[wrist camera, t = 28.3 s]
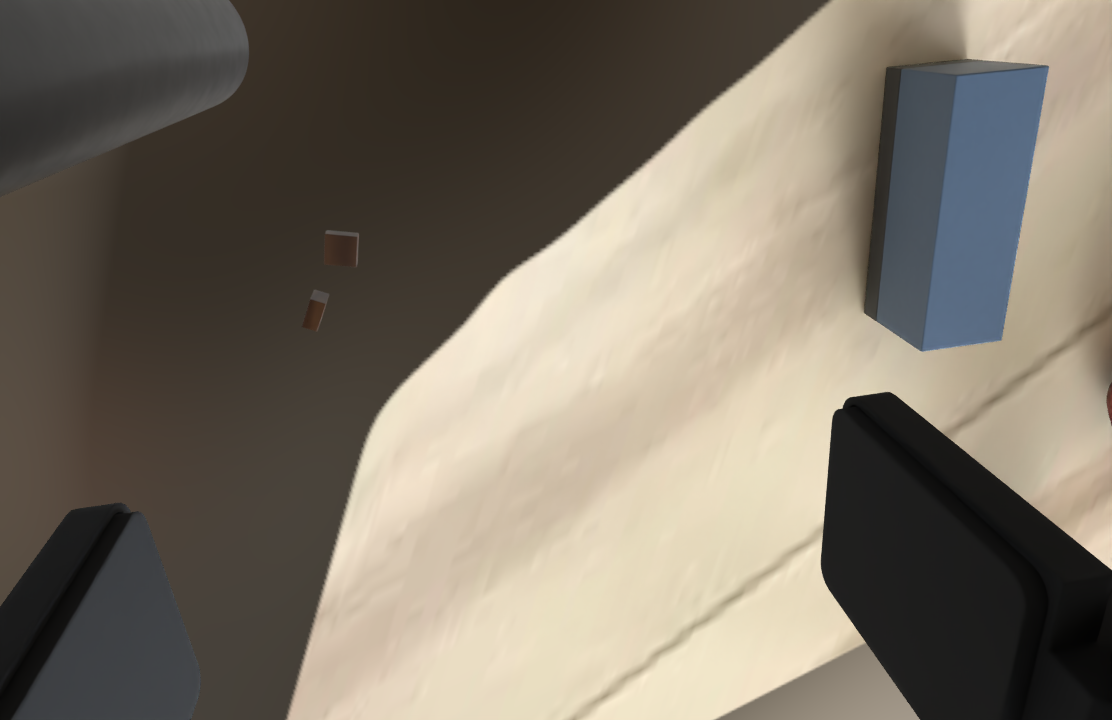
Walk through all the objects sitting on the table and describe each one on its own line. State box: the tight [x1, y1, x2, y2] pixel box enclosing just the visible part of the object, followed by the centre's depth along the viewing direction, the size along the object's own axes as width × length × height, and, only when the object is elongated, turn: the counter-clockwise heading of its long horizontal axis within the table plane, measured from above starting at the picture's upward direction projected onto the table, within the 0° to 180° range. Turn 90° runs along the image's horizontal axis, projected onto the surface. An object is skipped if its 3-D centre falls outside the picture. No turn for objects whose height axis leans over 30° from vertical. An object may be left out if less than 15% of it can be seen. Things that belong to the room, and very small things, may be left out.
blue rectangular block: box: [864, 59, 1049, 352], centre depth 36 cm, size 12×4×5 cm, turn 4°
